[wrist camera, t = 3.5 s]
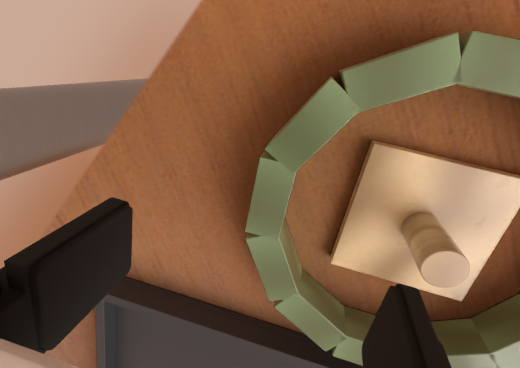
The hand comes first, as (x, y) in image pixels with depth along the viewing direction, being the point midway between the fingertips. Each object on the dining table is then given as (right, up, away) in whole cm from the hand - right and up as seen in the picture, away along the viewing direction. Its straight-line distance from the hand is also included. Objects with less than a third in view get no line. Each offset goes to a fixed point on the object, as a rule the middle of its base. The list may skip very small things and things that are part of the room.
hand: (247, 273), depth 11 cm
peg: (+10, +1, +7) cm, 12 cm away
